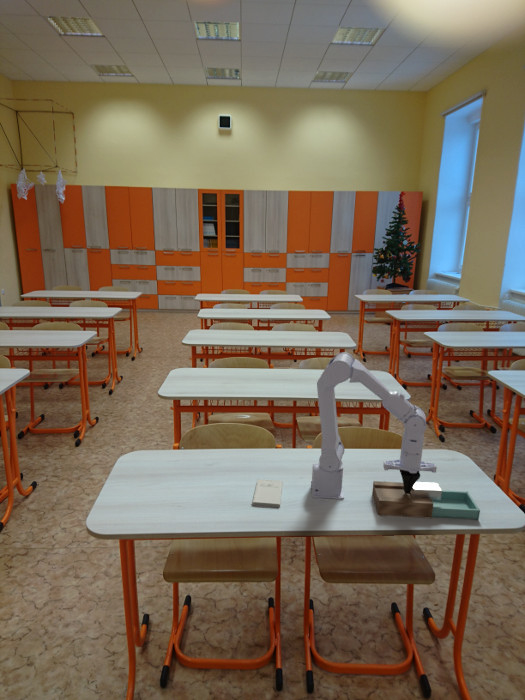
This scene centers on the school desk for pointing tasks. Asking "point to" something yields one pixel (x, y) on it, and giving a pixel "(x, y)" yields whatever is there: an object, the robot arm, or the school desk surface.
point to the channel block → (399, 501)
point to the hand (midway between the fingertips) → (406, 491)
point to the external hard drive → (268, 493)
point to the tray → (455, 506)
